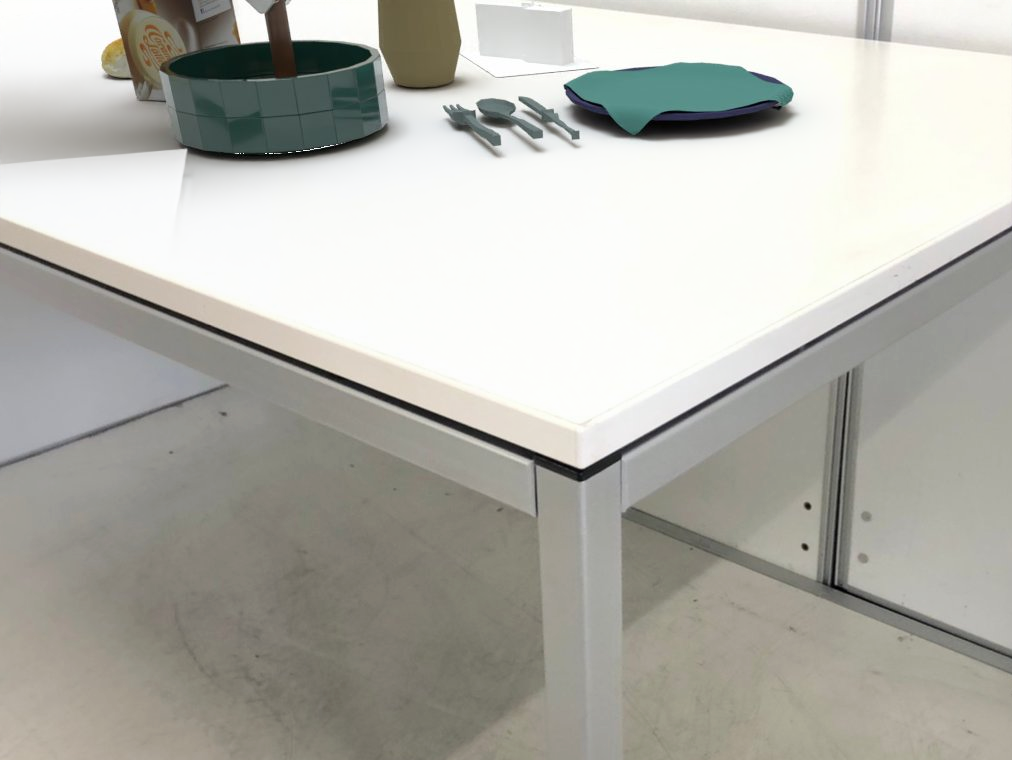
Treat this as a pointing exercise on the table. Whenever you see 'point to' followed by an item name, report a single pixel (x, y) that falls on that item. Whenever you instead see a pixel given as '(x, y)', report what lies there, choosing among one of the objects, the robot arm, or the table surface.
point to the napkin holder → (524, 39)
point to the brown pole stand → (280, 41)
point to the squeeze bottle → (419, 41)
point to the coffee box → (170, 35)
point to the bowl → (274, 97)
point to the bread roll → (115, 60)
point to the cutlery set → (645, 97)
